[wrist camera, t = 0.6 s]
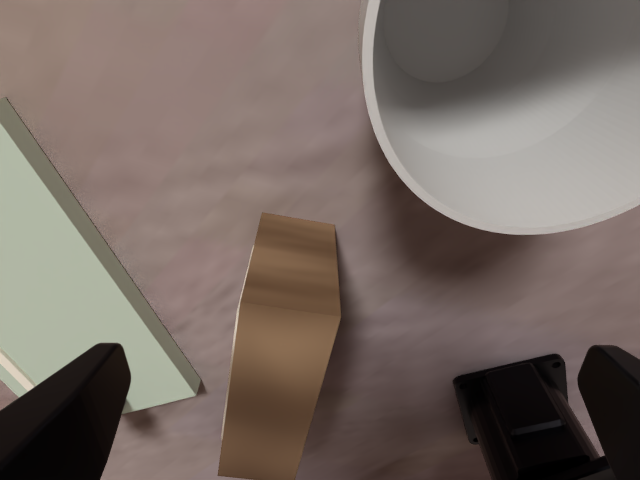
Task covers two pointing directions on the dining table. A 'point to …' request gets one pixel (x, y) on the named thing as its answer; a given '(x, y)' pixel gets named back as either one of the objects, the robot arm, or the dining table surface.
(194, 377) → the ledge board
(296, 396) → the brown wooden block
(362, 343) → the dining table surface
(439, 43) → the cup
